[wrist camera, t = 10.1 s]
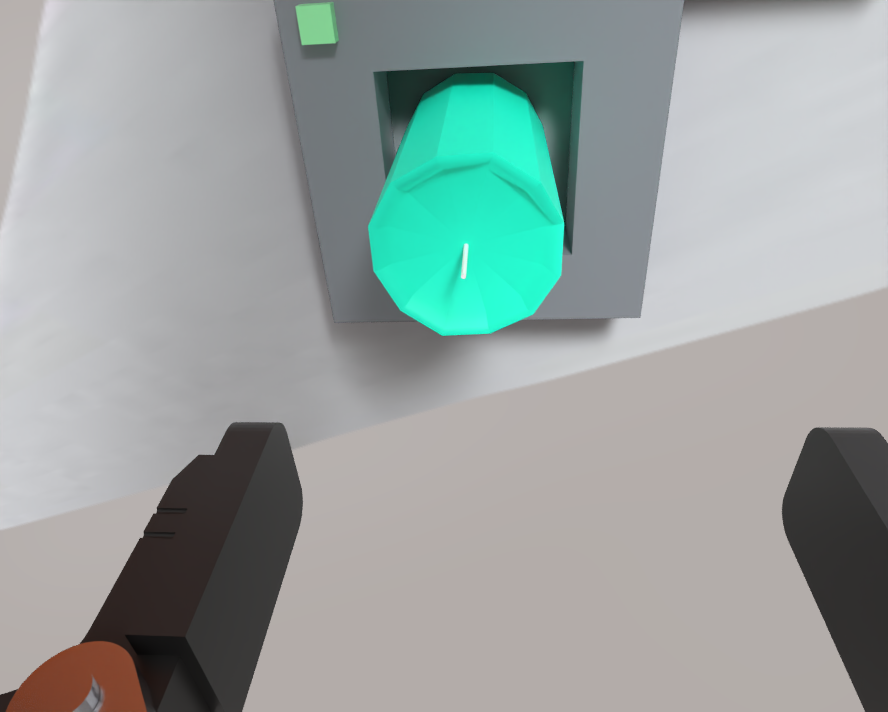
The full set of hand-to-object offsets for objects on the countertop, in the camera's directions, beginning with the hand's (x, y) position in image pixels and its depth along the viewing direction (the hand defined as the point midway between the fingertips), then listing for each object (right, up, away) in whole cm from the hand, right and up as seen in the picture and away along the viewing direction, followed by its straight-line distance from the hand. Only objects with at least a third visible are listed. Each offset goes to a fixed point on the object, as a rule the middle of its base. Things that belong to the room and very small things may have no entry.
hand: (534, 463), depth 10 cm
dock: (0, +11, +17) cm, 20 cm away
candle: (0, +11, +18) cm, 21 cm away
